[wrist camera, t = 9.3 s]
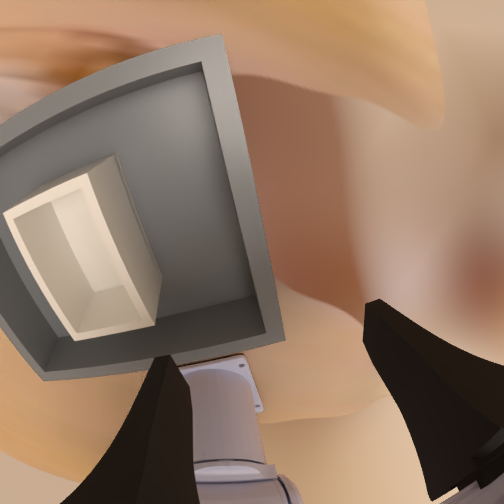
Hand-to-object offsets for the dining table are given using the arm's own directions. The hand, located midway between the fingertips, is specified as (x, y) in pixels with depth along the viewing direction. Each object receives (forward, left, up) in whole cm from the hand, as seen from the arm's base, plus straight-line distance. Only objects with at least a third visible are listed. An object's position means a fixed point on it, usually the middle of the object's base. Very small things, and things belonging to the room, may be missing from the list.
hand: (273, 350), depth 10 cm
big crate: (+3, +8, -9) cm, 13 cm away
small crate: (+3, +8, -9) cm, 12 cm away
